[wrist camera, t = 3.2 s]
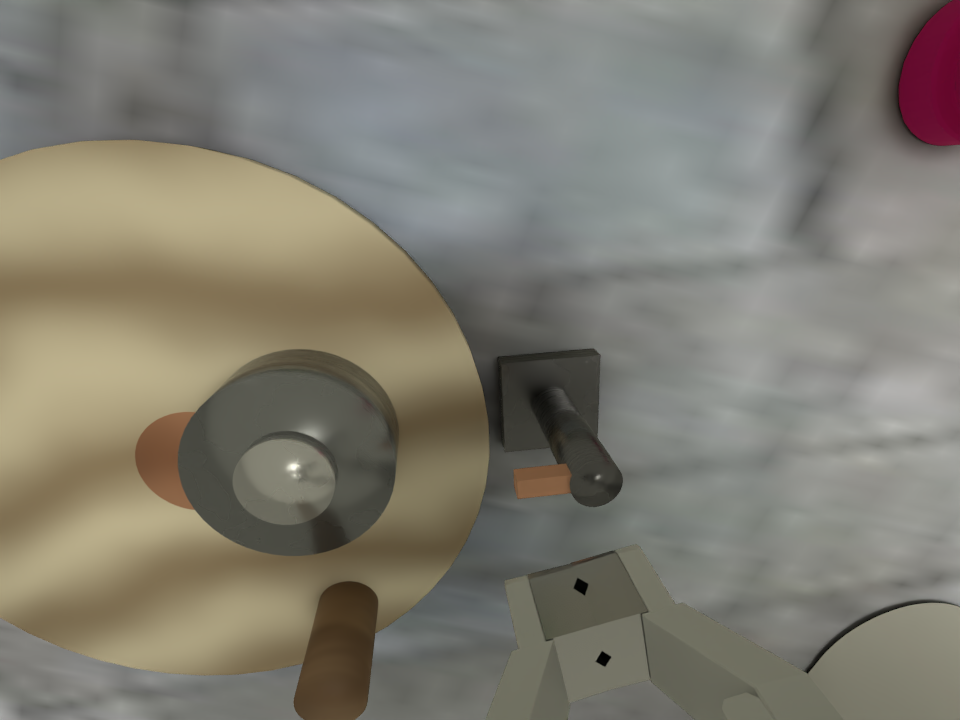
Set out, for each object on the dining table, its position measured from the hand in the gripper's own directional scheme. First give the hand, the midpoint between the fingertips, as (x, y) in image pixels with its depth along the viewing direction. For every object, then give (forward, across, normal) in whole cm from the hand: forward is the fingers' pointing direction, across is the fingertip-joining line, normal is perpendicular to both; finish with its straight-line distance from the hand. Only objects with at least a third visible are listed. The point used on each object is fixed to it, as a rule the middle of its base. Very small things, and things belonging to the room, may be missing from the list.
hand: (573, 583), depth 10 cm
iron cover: (+12, +9, 0) cm, 15 cm away
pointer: (+15, -3, +3) cm, 15 cm away
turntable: (+13, +14, 0) cm, 19 cm away
